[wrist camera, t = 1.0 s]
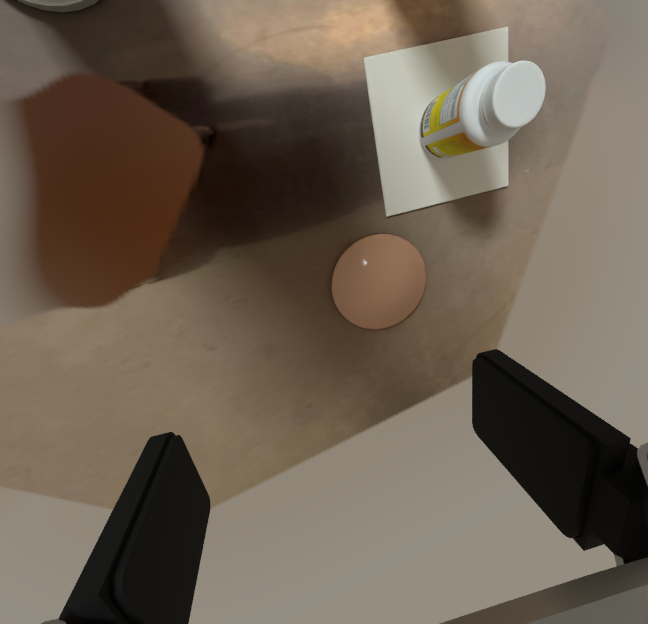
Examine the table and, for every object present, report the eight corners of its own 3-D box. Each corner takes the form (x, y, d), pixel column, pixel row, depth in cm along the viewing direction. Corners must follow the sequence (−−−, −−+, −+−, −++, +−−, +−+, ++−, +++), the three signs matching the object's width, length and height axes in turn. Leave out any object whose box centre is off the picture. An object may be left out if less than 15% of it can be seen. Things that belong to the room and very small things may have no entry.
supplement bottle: (475, 144, 32) (562, 120, 22) (426, 168, 32) (491, 155, 22) (461, 84, 30) (551, 29, 20) (409, 110, 30) (474, 67, 20)
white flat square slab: (363, 58, 28) (363, 57, 28) (506, 27, 29) (508, 26, 28) (385, 216, 33) (386, 216, 33) (507, 185, 34) (508, 185, 34)
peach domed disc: (321, 247, 33) (322, 248, 32) (418, 222, 34) (420, 223, 33) (341, 337, 37) (342, 339, 36) (428, 313, 38) (430, 315, 37)
